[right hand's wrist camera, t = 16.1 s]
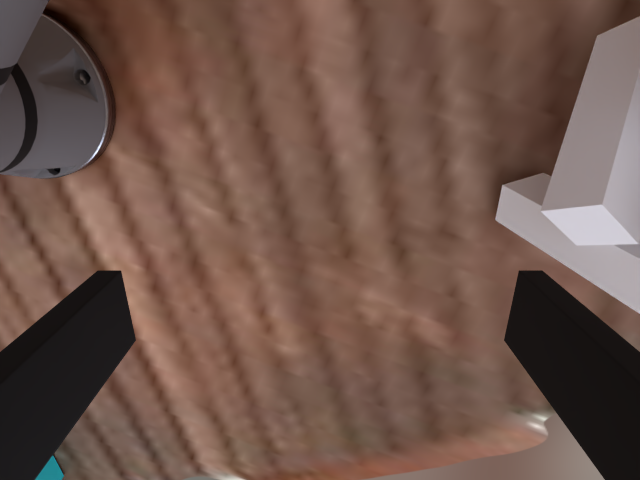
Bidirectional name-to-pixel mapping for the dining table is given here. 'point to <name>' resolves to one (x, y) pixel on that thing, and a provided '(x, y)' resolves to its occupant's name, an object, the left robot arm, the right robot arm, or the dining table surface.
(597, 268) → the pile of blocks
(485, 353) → the dining table surface
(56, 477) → the bracket
